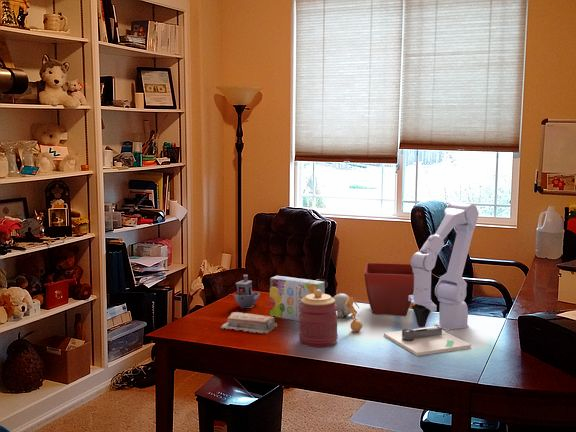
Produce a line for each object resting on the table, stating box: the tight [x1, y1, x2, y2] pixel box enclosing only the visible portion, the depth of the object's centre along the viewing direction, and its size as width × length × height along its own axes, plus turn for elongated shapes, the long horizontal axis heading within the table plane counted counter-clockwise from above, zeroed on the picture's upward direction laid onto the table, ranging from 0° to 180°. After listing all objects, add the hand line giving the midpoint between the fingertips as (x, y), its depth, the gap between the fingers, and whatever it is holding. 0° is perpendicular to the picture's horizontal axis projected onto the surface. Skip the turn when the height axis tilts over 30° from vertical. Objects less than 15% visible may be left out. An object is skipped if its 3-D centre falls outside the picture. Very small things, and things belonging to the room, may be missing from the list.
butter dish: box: [220, 311, 278, 335], centre depth 231 cm, size 18×5×10 cm
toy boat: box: [233, 274, 261, 309], centre depth 256 cm, size 15×8×13 cm, turn 158°
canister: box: [298, 289, 339, 348], centre depth 213 cm, size 13×13×18 cm
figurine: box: [345, 296, 363, 333], centre depth 225 cm, size 8×6×12 cm
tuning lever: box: [401, 326, 443, 341], centre depth 214 cm, size 14×4×3 cm, turn 111°
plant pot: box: [363, 262, 414, 317], centre depth 249 cm, size 19×19×17 cm
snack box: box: [269, 275, 326, 322], centre depth 240 cm, size 21×6×15 cm, turn 58°
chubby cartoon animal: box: [333, 292, 352, 319], centre depth 244 cm, size 7×12×8 cm, turn 57°
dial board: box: [383, 326, 472, 357], centre depth 213 cm, size 20×21×1 cm
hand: (421, 326), depth 220 cm, fingers closed
